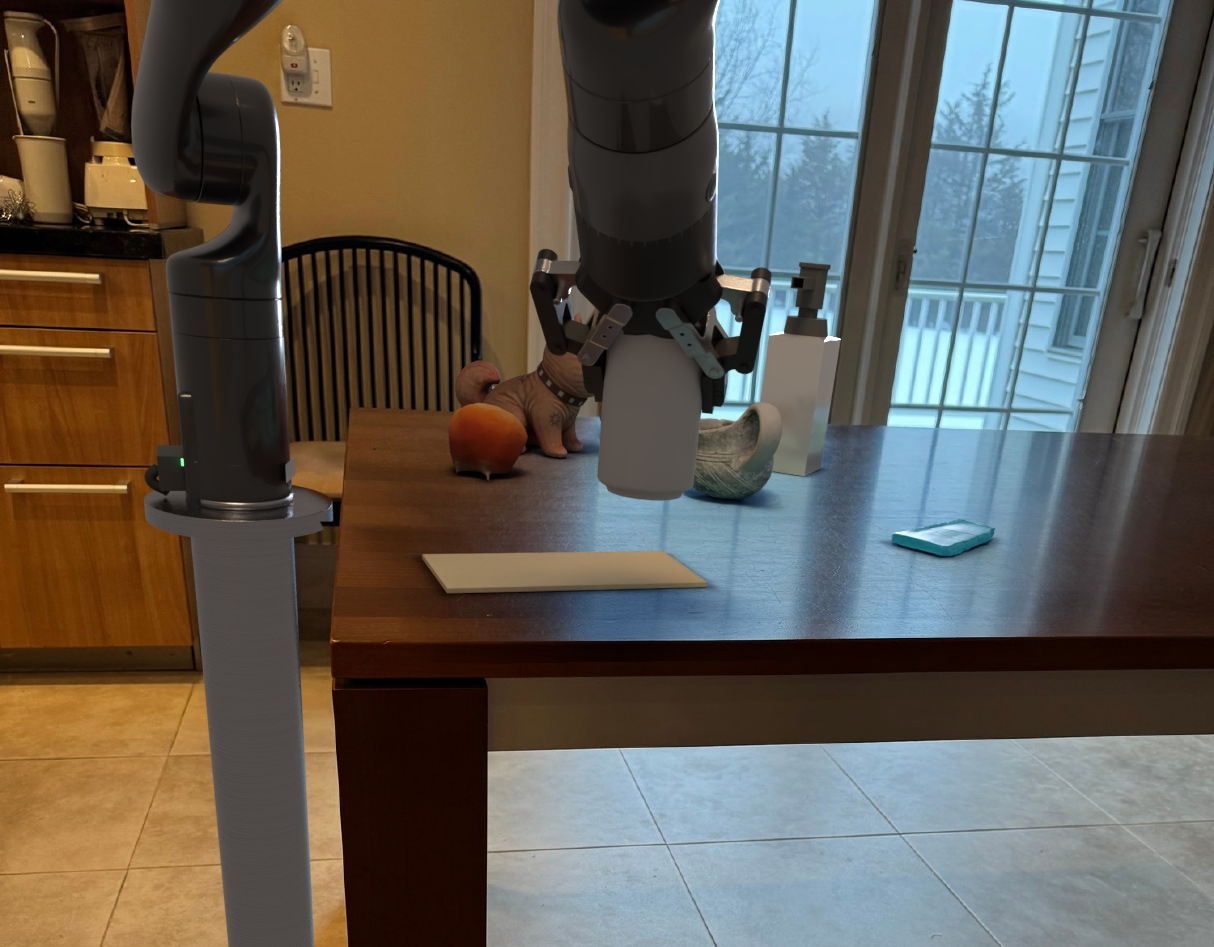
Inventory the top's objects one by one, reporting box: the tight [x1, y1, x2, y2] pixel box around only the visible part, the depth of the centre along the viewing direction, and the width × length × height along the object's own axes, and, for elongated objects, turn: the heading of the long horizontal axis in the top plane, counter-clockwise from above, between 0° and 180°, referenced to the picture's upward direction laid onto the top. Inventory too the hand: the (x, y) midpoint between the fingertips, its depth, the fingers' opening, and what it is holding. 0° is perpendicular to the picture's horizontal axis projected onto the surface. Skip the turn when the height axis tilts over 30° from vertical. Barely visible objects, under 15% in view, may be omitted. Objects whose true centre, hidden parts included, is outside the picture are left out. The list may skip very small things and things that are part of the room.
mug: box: [692, 402, 782, 500], centre depth 113 cm, size 10×12×10 cm
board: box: [421, 550, 708, 594], centre depth 86 cm, size 20×9×1 cm, turn 109°
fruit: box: [447, 403, 528, 482], centre depth 116 cm, size 8×8×8 cm
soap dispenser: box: [759, 261, 842, 477], centre depth 128 cm, size 6×9×22 cm
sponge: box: [891, 518, 996, 557], centre depth 105 cm, size 2×12×6 cm
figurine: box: [454, 312, 594, 459], centre depth 129 cm, size 10×19×15 cm, turn 72°
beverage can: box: [596, 330, 703, 502], centre depth 72 cm, size 6×6×12 cm
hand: (655, 396), depth 74 cm, fingers closed on beverage can, 6 cm apart
